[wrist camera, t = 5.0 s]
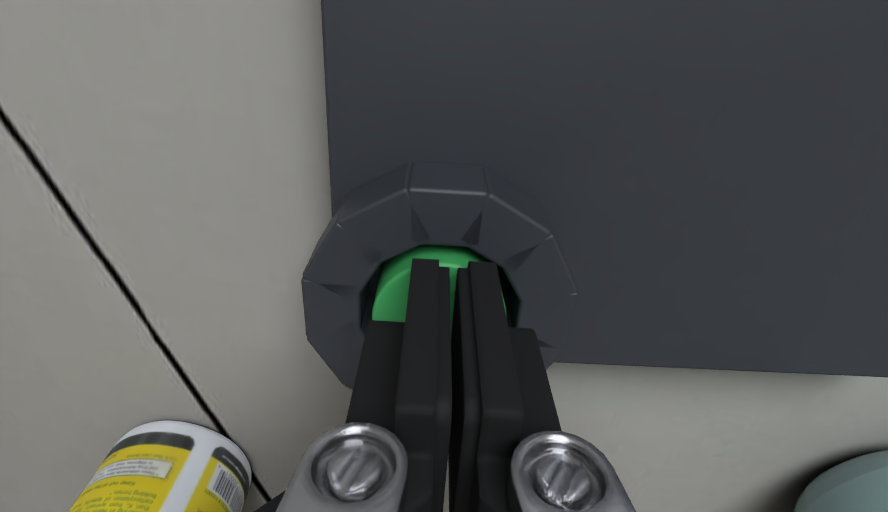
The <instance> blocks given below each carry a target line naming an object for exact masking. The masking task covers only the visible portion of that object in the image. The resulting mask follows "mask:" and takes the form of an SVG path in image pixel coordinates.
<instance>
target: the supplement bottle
mask: <svg viewBox="0 0 888 512" xmlns="http://www.w3.org/2000/svg"><path fill="white" fill-rule="evenodd" d="M250 484H251V468H250V464H249V462H248V460H247V458H246V456H245V455H244V453H243V452H242V451H241V449H240V448H239V447H238V446H237V445H236V444H235V443H233V442H232V441H231V440H230V439H228V438H226V437H225V436H223V435H221V434H220V433H217V432H215V431H213V430H211V429H208V428H205V427H202V426H199V425H195V424H192V423H187V422H181V421H171V420H166V421H155V422H150V423H146V424H143V425H140V426H138V427H136V428H134V429H132V430H130V431H129V432H128V433H126V434H125V435H124V436H123V437H122V438H121V439H120V440H119V441H118V442H117V443H116V445H115V446H114V447H113V449H112V450H111V451H110V453H109V454H108V455H107V457H106V458H105V460H104V461H103V463H102V465H101V466H100V467H99V469H98V470H97V472H96V473H95V474H94V476H93V477H92V479H91V480H90V482H89V483H88V485H87V486H86V488H85V489H84V490H83V492H82V493H81V495H80V496H79V498H78V499H77V501H76V502H75V503H74V505H73V506H72V508H71V509H70V511H69V512H241V511H242V507H243V504H244V502H245V499H246V496H247V494H248V491H249V488H250Z"/></svg>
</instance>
